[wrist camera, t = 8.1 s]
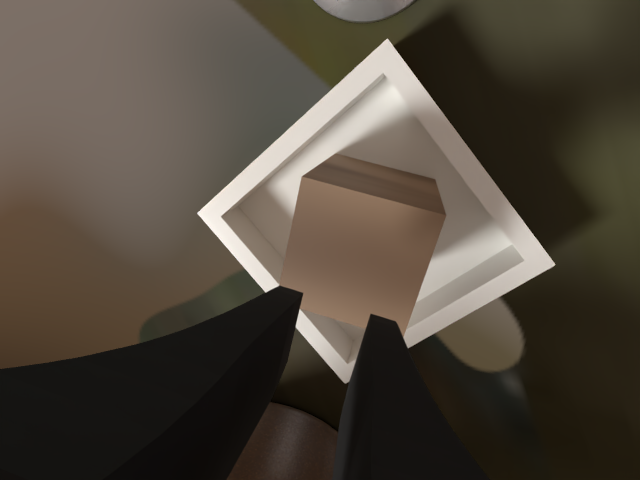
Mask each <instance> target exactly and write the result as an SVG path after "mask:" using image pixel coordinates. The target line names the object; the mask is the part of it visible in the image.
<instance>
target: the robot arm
mask: <svg viewBox="0 0 640 480" xmlns="http://www.w3.org/2000/svg"><path fill="white" fill-rule="evenodd" d="M302 297H303V292H299V291H296V290H293V289H290V288H286V287H283V286H278V287H275V288H273V289H271V290H269V291H267V292H265V293H264V294H262V295H260V296H258V297H256V298H254V299H252V300H250V301H248V302H246V303H244V304H242V305H240V306H238V307H236V308H234V309H232V310H230V311H228V312H226V313H223V314H221V315H218V316H216V317H214V318H211V319H209V320H206V321H204V322H202V323H199V324H197V325H194V326H192V327H189V328H187V329H184V330H181V331H178V332H175V333H172V334H170V335H166V336H163V337H160V338H156V339H153V340H150V341H147V342H143V343H139V344H136V345H131V346H128V347H123V348H118V349H114V350H110V351H105V352H101V353H97V354H92V355H88V356H83V357H78V358H73V359H66V360H61V361H55V362H49V363H43V364H35V365H29V366H21V367H14V368H5V369H0V480H227V478H228V476H229V474H230V473H231V471H232V469H233V467H234V465H235V464H236V462H237V460H238V458H239V457H240V455H241V453H242V451H243V449H244V448H245V446H246V444H247V442H248V440H249V439H250V437H251V435H252V433H253V432H254V430H255V428H256V426H257V424H258V423H259V421H260V419H261V417H262V415H263V414H264V412H265V410H266V408H267V406H268V405H269V403H270V401H271V399H272V397H273V395H274V393H275V390H276V388H277V386H278V383H279V381H280V378H281V376H282V373H283V371H284V368H285V366H286V363H287V361H288V356H289V352H290V348H291V344H292V339H293V335H294V331H295V327H296V323H297V318H298V314H299V310H300V306H301V301H302ZM332 480H490V479H489V478H488V477H487V475H486V474H485V473H484V472H483V470H482V469H481V468H480V467H479V465H478V464H477V463H476V461H475V460H474V459H473V457H472V456H471V455H470V453H469V452H468V451H467V449H466V448H465V446H464V445H463V444H462V442H461V441H460V439H459V438H458V437H457V435H456V434H455V432H454V431H453V430H452V428H451V427H450V425H449V424H448V422H447V421H446V419H445V417H444V416H443V414H442V413H441V411H440V409H439V408H438V406H437V404H436V403H435V401H434V399H433V398H432V396H431V394H430V392H429V390H428V388H427V387H426V385H425V383H424V381H423V379H422V377H421V375H420V373H419V371H418V369H417V367H416V365H415V363H414V361H413V359H412V356H411V354H410V352H409V350H408V347H407V345H406V343H405V340H404V338H403V336H402V333H401V331H400V328H399V326H398V324H397V322H396V321H393V320H390V319H387V318H384V317H380V316H377V315H374V314H370V317H369V320H368V323H367V327H366V330H365V333H364V336H363V339H362V343H361V346H360V349H359V352H358V355H357V359H356V362H355V365H354V368H353V371H352V375H351V378H350V381H349V385H348V389H347V393H346V397H345V401H344V405H343V409H342V413H341V418H340V423H339V430H338V438H337V445H336V453H335V461H334V469H333V476H332Z"/></svg>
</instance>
